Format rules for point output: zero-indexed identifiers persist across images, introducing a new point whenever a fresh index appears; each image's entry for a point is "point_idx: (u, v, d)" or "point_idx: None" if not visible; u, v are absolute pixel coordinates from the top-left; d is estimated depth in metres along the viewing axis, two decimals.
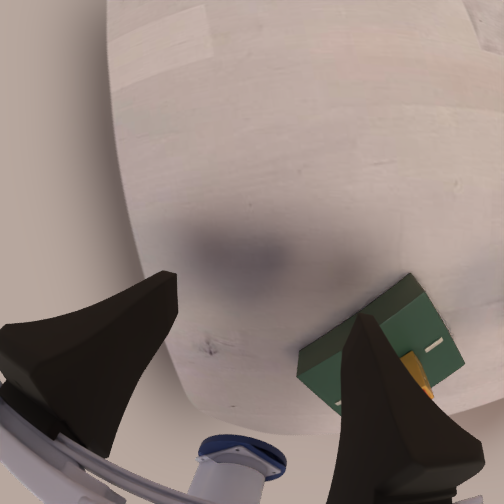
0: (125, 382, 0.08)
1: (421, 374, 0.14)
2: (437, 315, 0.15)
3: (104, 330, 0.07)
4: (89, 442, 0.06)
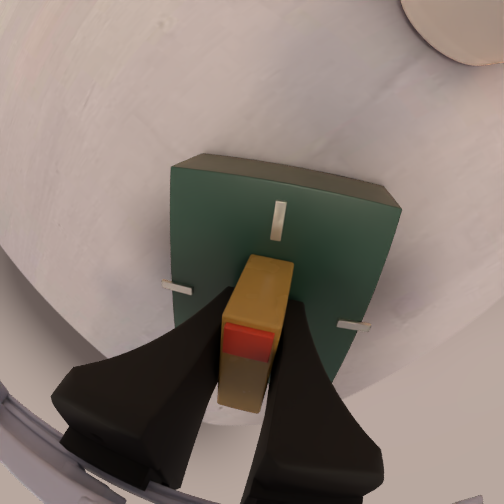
0: (200, 410, 0.08)
1: (235, 292, 0.08)
2: (227, 176, 0.09)
3: (196, 362, 0.07)
4: (171, 480, 0.06)
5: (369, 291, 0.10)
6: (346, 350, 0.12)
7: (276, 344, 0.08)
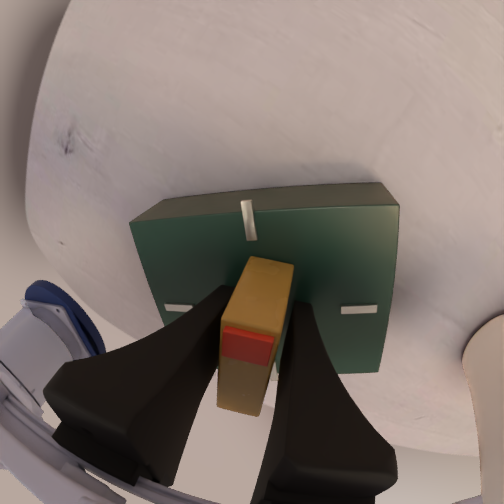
0: (192, 408, 0.08)
1: (234, 295, 0.08)
2: (393, 263, 0.09)
3: (186, 359, 0.07)
4: (162, 477, 0.06)
5: None
6: None
7: (276, 348, 0.07)
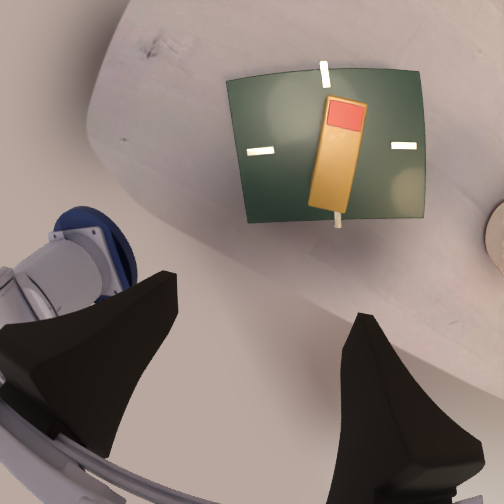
0: (125, 383, 0.08)
1: None
2: (422, 110, 0.11)
3: (104, 330, 0.07)
4: (89, 442, 0.06)
5: (367, 215, 0.15)
6: (309, 219, 0.15)
7: (364, 119, 0.09)
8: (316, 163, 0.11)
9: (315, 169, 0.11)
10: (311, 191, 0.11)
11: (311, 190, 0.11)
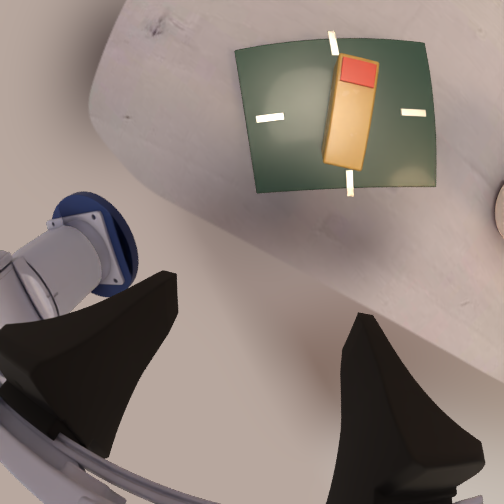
0: (125, 383, 0.08)
1: None
2: (429, 79, 0.11)
3: (104, 330, 0.07)
4: (89, 442, 0.06)
5: (380, 183, 0.14)
6: (320, 187, 0.15)
7: (377, 76, 0.09)
8: (330, 119, 0.10)
9: (330, 125, 0.10)
10: (326, 147, 0.10)
11: (326, 146, 0.10)
